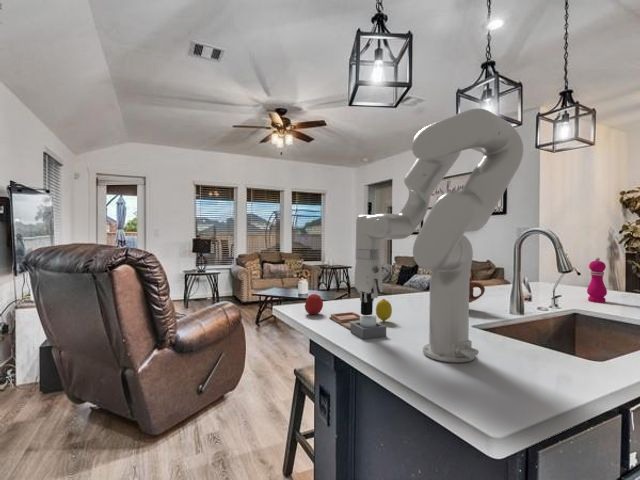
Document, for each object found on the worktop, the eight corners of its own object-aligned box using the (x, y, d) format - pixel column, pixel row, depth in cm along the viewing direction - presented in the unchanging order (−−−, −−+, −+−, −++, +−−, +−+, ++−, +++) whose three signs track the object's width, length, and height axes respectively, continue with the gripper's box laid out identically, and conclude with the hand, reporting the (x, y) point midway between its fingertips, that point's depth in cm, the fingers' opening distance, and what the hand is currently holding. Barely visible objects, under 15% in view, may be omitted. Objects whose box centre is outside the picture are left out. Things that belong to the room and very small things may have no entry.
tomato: (325, 292, 139) (306, 287, 141) (318, 307, 133) (298, 302, 135) (325, 305, 144) (307, 300, 146) (319, 321, 138) (300, 315, 141)
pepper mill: (582, 300, 167) (583, 256, 167) (594, 299, 170) (595, 256, 169) (599, 303, 160) (599, 258, 160) (610, 302, 163) (611, 257, 162)
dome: (379, 330, 111) (379, 317, 111) (364, 332, 109) (364, 319, 109) (371, 326, 115) (371, 314, 115) (357, 328, 114) (357, 315, 114)
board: (380, 328, 119) (380, 323, 119) (353, 331, 115) (353, 326, 115) (354, 316, 136) (354, 311, 136) (329, 318, 132) (329, 314, 132)
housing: (386, 336, 110) (386, 326, 110) (362, 339, 107) (362, 329, 107) (372, 329, 117) (372, 320, 117) (350, 332, 114) (350, 322, 114)
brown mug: (488, 310, 147) (489, 275, 147) (481, 315, 137) (481, 278, 137) (439, 304, 159) (439, 272, 159) (429, 308, 149) (429, 274, 149)
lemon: (391, 323, 125) (391, 300, 125) (375, 323, 126) (375, 300, 126) (391, 320, 130) (391, 297, 130) (376, 319, 132) (376, 297, 131)
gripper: (391, 257, 106) (390, 319, 107) (366, 253, 120) (365, 308, 121) (369, 257, 103) (367, 321, 104) (346, 253, 117) (345, 310, 118)
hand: (366, 314), depth 113 cm, fingers closed
